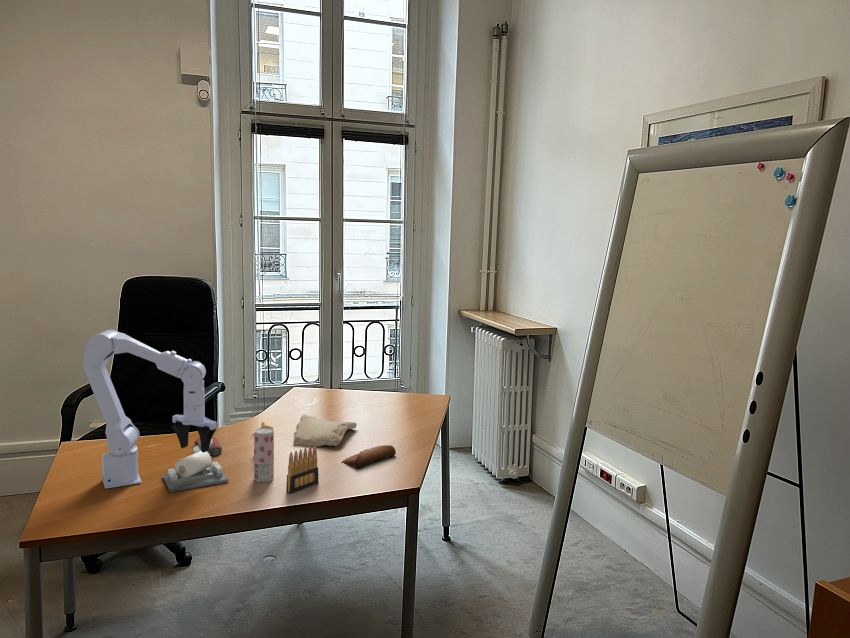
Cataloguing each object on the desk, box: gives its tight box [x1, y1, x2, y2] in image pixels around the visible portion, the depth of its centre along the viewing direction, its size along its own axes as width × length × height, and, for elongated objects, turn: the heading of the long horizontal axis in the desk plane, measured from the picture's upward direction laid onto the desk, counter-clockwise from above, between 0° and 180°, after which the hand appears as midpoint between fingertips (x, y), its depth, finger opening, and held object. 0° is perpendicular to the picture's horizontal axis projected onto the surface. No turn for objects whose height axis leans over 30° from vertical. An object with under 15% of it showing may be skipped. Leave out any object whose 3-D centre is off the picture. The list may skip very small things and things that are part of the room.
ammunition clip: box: [285, 445, 320, 494], centre depth 183 cm, size 11×2×12 cm, turn 141°
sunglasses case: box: [341, 444, 397, 470], centre depth 208 cm, size 18×7×7 cm
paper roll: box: [174, 451, 212, 479], centre depth 185 cm, size 9×6×6 cm, turn 158°
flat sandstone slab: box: [293, 414, 358, 448], centre depth 229 cm, size 24×8×20 cm
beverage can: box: [253, 427, 275, 483], centre depth 188 cm, size 6×6×15 cm
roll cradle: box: [162, 461, 229, 493], centre depth 186 cm, size 16×12×4 cm
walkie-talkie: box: [192, 436, 223, 456], centre depth 207 cm, size 9×4×20 cm
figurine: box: [250, 421, 275, 439], centre depth 206 cm, size 8×6×12 cm
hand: (194, 449), depth 185 cm, fingers open, 7 cm apart
